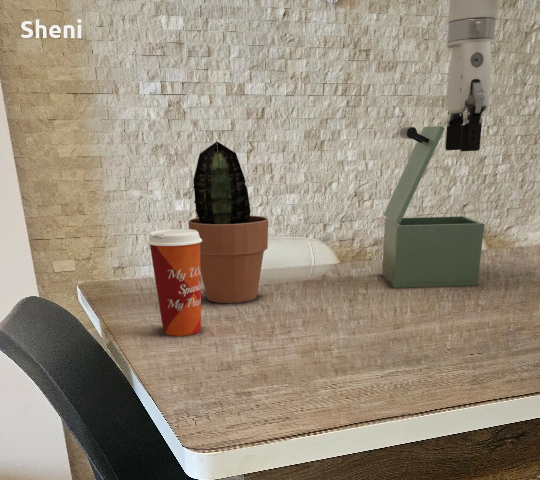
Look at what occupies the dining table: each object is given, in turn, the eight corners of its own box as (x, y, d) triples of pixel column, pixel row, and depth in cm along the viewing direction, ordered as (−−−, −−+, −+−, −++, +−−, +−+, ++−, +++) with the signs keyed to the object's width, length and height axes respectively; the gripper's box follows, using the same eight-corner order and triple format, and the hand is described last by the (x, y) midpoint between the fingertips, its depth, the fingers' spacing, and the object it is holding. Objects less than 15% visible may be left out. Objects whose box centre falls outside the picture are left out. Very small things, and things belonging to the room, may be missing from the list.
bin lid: (427, 128, 122) (403, 116, 121) (445, 128, 111) (418, 114, 110) (386, 216, 129) (363, 205, 128) (399, 224, 118) (374, 212, 117)
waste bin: (458, 273, 135) (464, 216, 130) (477, 285, 123) (484, 223, 118) (381, 275, 134) (384, 218, 129) (393, 287, 123) (397, 226, 118)
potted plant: (284, 300, 116) (282, 139, 105) (213, 310, 111) (203, 142, 99) (248, 287, 127) (243, 140, 115) (181, 295, 121) (169, 142, 110)
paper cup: (180, 340, 95) (171, 237, 88) (145, 332, 99) (135, 233, 93) (219, 329, 100) (213, 230, 93) (184, 321, 104) (176, 227, 98)
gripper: (511, 26, 102) (498, 150, 110) (477, 40, 117) (468, 148, 125) (462, 28, 102) (453, 152, 110) (435, 42, 117) (429, 150, 125)
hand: (461, 150), depth 118 cm, fingers open, 9 cm apart
